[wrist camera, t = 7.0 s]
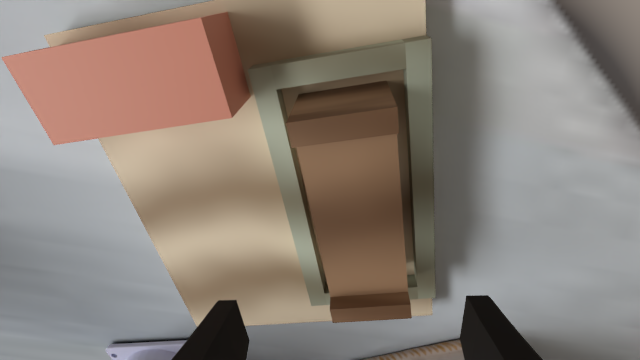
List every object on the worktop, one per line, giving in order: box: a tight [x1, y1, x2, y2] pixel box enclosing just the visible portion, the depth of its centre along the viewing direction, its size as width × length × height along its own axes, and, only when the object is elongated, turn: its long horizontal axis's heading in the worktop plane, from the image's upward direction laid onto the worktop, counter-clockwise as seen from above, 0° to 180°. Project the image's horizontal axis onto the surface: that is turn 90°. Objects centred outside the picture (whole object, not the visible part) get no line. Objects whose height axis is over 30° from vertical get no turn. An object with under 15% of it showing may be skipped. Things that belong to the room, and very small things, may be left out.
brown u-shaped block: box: [286, 81, 412, 323], centre depth 16 cm, size 11×4×4 cm, turn 10°
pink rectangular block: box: [1, 12, 251, 145], centre depth 14 cm, size 4×8×3 cm, turn 100°
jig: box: [44, 0, 435, 327], centre depth 19 cm, size 20×16×2 cm
